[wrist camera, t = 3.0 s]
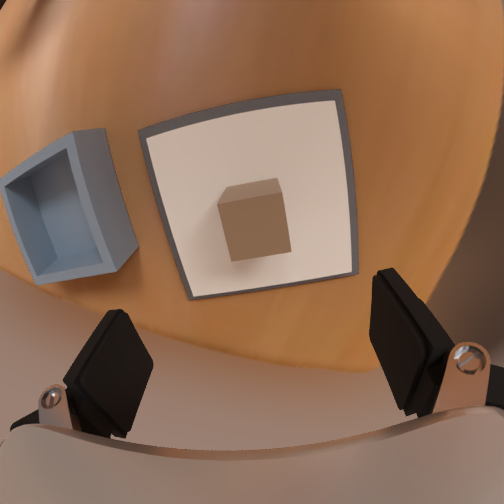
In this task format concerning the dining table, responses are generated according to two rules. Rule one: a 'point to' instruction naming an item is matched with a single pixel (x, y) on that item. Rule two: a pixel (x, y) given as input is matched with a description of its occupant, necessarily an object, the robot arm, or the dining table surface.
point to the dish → (69, 209)
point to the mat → (246, 107)
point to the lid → (256, 197)
